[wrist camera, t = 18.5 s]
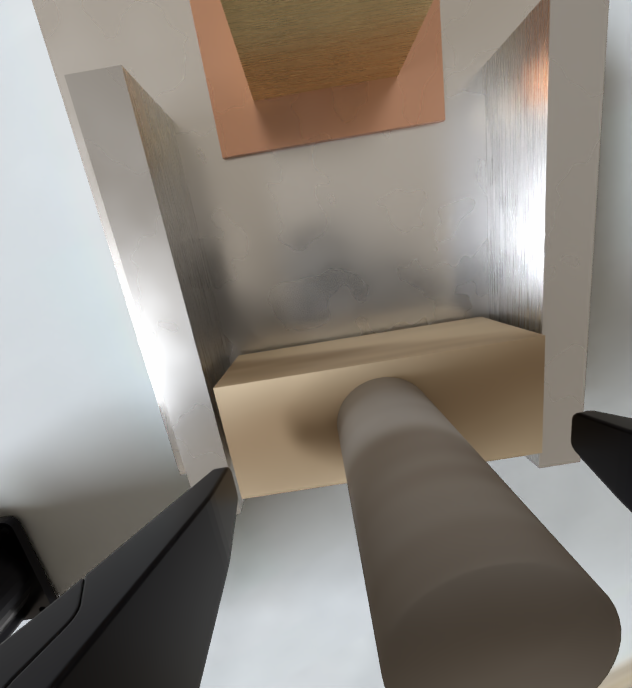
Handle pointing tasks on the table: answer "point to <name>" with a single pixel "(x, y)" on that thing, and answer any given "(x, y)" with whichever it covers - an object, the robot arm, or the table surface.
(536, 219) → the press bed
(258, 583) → the table surface
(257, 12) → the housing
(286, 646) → the table surface
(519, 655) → the ram
